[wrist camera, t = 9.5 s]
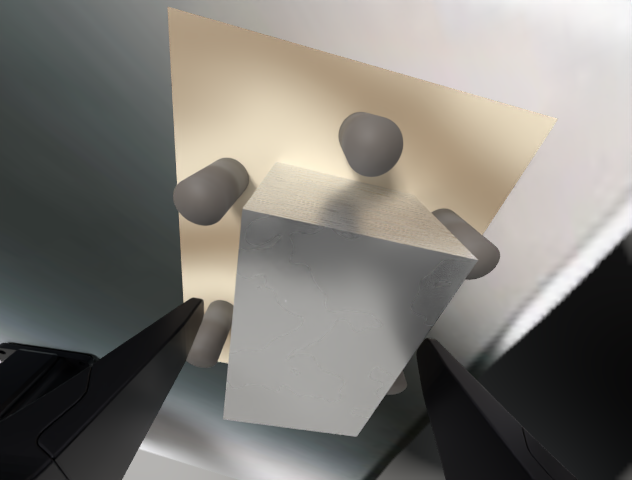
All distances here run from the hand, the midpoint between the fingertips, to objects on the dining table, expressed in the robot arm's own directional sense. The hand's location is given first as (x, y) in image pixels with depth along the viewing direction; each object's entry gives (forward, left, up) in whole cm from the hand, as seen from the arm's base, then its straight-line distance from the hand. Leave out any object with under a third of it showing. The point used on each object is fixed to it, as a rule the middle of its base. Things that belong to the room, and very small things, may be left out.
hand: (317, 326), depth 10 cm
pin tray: (0, 0, -5) cm, 5 cm away
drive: (0, 0, -4) cm, 4 cm away
